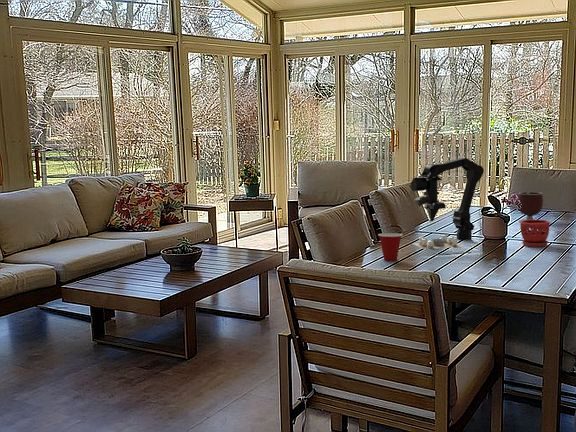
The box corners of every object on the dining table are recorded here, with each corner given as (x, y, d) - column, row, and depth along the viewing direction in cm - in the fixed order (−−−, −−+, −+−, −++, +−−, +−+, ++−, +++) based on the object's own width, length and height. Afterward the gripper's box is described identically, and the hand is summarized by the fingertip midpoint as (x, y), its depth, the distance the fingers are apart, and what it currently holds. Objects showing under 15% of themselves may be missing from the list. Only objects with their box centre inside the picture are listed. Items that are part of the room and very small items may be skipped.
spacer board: (449, 243, 323) (449, 240, 322) (463, 248, 308) (463, 246, 308) (412, 245, 319) (412, 243, 319) (424, 251, 304) (424, 249, 304)
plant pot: (549, 243, 314) (550, 219, 312) (548, 248, 302) (548, 223, 300) (521, 242, 319) (521, 218, 318) (518, 247, 308) (519, 222, 306)
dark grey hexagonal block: (441, 243, 316) (441, 238, 316) (447, 245, 310) (447, 240, 310) (428, 244, 315) (428, 239, 315) (433, 246, 309) (433, 241, 309)
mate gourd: (521, 219, 387) (521, 186, 384) (545, 221, 379) (545, 187, 376) (513, 223, 374) (513, 189, 371) (537, 224, 366) (538, 190, 363)
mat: (461, 248, 308) (461, 248, 308) (471, 252, 298) (471, 252, 298) (426, 251, 304) (426, 250, 304) (435, 255, 295) (435, 254, 295)
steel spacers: (447, 241, 321) (447, 234, 320) (460, 246, 308) (460, 239, 307) (416, 243, 318) (416, 236, 317) (427, 248, 305) (427, 241, 304)
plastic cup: (404, 257, 293) (404, 231, 291) (400, 262, 283) (400, 236, 281) (380, 256, 296) (380, 231, 295) (376, 261, 286) (375, 235, 285)
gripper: (408, 189, 323) (408, 219, 326) (424, 192, 305) (424, 225, 308) (429, 187, 326) (429, 218, 328) (446, 191, 308) (446, 223, 310)
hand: (431, 221), depth 318 cm, fingers closed
